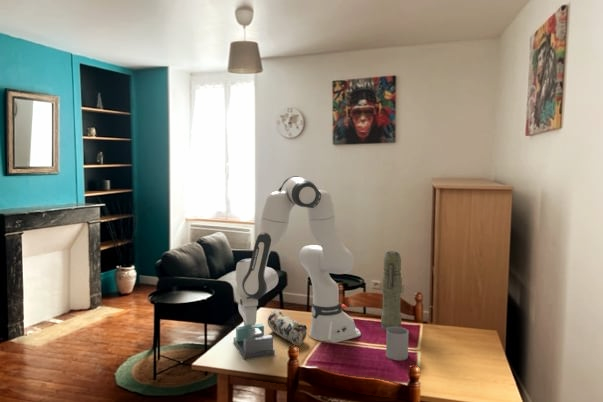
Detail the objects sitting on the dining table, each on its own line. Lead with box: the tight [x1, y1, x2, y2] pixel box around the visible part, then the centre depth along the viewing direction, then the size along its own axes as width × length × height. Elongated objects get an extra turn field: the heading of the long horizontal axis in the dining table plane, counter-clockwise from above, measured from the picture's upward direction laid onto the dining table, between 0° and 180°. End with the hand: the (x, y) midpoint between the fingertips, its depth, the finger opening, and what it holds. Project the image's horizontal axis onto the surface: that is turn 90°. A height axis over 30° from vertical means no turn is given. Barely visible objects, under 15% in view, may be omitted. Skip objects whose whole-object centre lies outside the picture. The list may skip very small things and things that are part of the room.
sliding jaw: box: [235, 323, 265, 342], centre depth 181 cm, size 11×3×5 cm, turn 112°
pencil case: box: [267, 309, 308, 346], centre depth 189 cm, size 22×8×10 cm, turn 33°
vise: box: [233, 334, 276, 361], centre depth 176 cm, size 12×18×7 cm, turn 22°
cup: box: [385, 326, 409, 361], centre depth 170 cm, size 8×8×10 cm
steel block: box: [248, 328, 262, 338], centre depth 174 cm, size 4×6×6 cm, turn 22°
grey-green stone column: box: [380, 250, 403, 332], centre depth 197 cm, size 9×12×35 cm
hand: (246, 328), depth 186 cm, fingers closed
